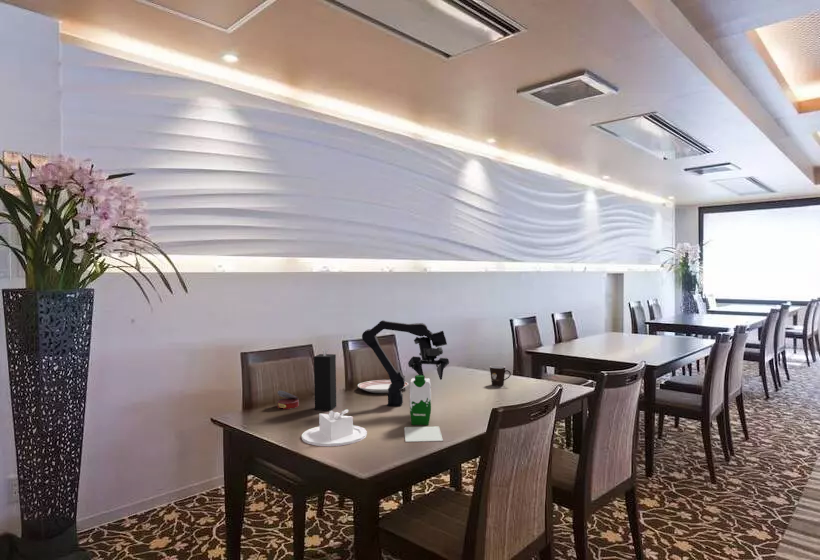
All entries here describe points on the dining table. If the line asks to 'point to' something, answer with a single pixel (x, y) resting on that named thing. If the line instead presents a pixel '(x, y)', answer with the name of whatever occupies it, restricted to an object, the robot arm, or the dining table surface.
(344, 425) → the dish
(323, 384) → the tall black box
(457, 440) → the dining table surface
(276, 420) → the dining table surface
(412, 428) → the placemat
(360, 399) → the dining table surface
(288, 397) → the canned food
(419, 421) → the milk carton
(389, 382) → the dinner plate
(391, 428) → the dining table surface
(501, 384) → the coffee mug
